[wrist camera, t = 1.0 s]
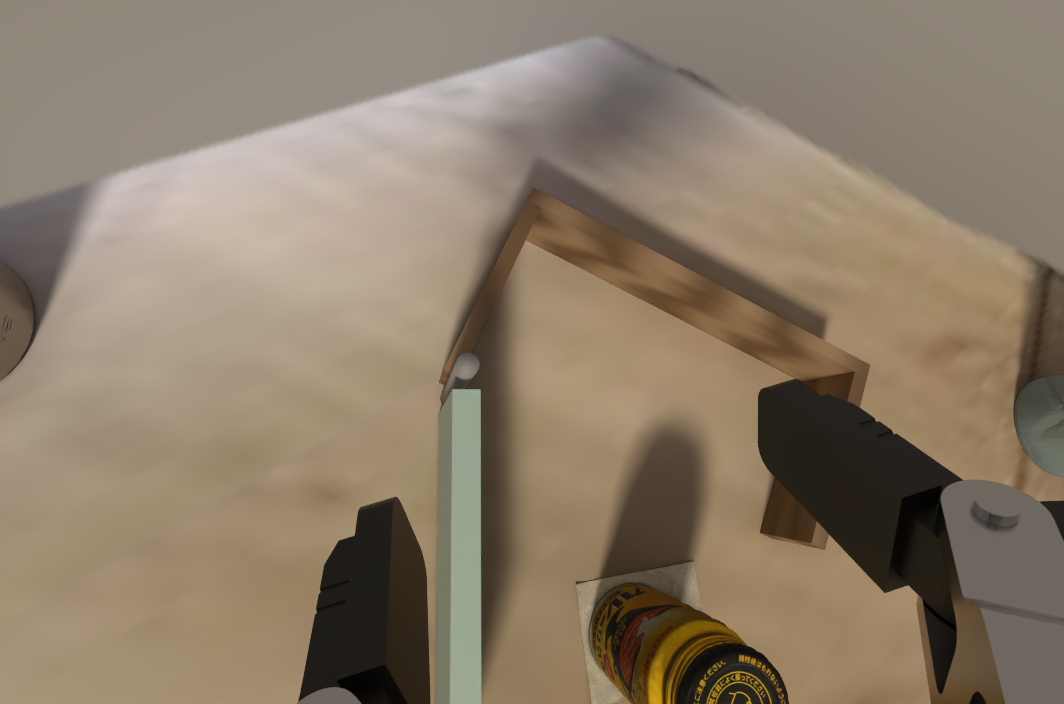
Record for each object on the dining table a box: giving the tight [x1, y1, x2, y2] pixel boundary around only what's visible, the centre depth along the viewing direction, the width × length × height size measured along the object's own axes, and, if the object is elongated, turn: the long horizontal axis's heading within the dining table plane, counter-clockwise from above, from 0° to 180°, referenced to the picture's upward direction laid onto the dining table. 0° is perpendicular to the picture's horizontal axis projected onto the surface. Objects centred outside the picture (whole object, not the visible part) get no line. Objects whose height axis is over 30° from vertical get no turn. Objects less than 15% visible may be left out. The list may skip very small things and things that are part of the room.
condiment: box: [576, 561, 789, 704], centre depth 28 cm, size 7×8×12 cm
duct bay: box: [439, 187, 870, 550], centre depth 35 cm, size 26×13×5 cm, turn 67°
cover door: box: [435, 353, 481, 704], centre depth 26 cm, size 22×1×13 cm, turn 2°
